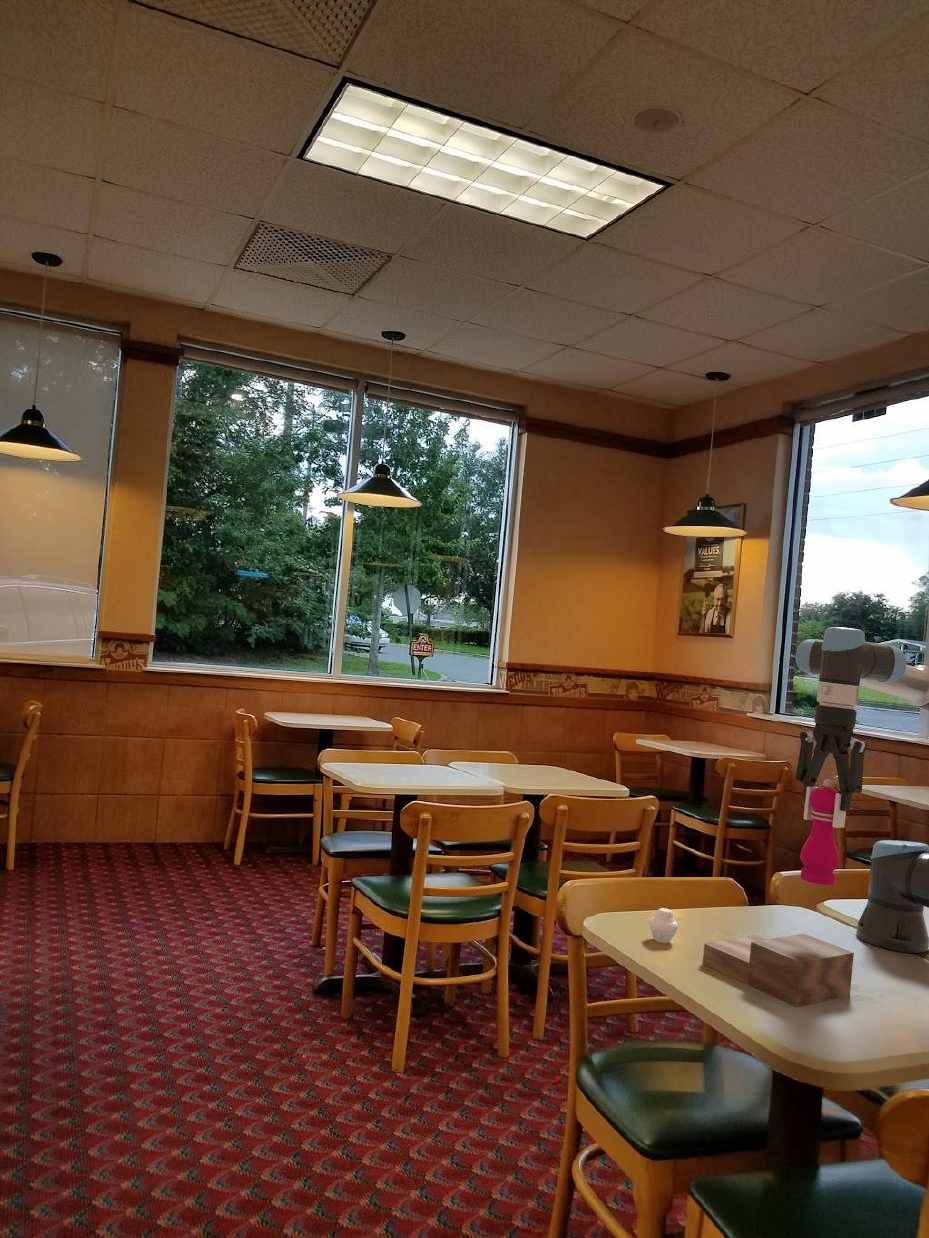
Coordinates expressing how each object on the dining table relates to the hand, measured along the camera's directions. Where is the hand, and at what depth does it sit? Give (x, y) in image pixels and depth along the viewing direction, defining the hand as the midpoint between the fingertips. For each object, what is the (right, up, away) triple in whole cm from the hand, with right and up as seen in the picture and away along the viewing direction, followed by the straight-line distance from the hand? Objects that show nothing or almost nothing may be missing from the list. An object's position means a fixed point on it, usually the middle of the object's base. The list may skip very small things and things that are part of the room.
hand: (823, 823), depth 180 cm
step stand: (-10, -30, -2) cm, 32 cm away
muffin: (-29, -28, +15) cm, 43 cm away
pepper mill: (-1, -12, 0) cm, 12 cm away
